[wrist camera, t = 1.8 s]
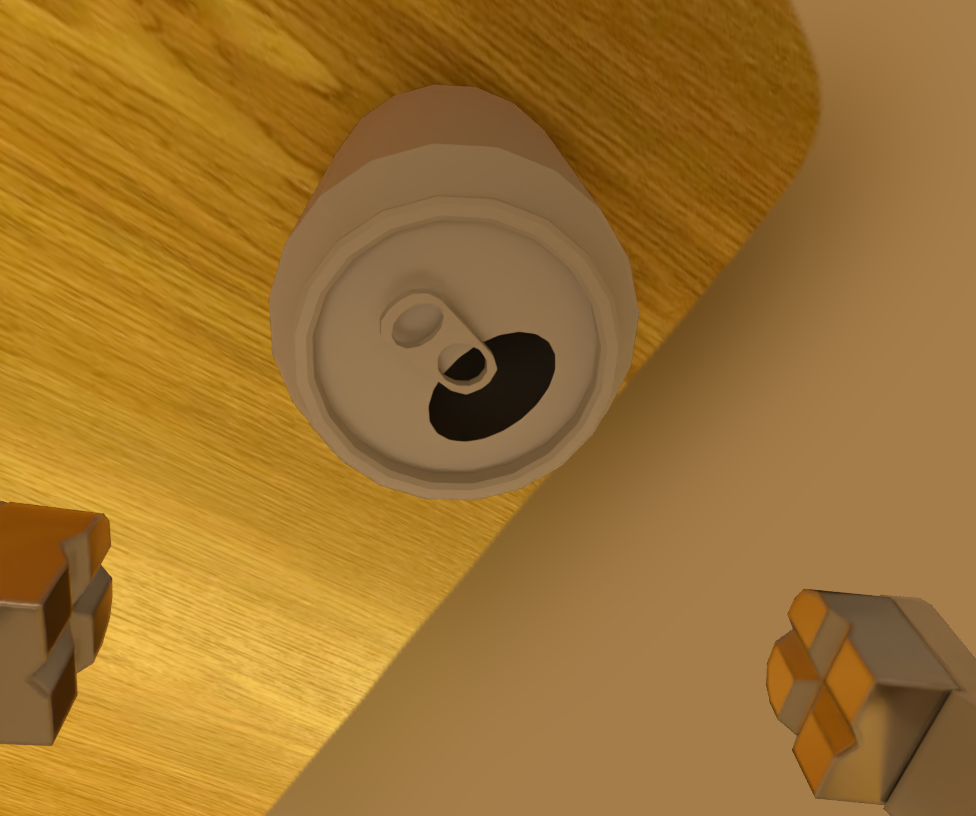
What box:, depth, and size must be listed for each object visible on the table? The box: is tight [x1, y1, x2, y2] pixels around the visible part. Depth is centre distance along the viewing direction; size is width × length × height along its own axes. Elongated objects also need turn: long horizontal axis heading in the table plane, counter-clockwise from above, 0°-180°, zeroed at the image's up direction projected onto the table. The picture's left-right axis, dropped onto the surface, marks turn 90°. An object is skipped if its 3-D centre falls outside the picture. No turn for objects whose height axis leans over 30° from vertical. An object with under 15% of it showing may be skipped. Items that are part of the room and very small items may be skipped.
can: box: [269, 84, 639, 500], centre depth 20 cm, size 8×8×12 cm
